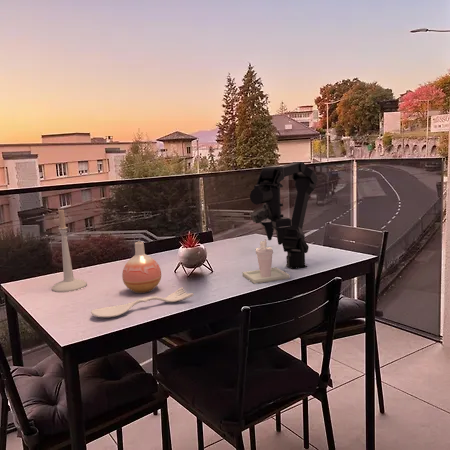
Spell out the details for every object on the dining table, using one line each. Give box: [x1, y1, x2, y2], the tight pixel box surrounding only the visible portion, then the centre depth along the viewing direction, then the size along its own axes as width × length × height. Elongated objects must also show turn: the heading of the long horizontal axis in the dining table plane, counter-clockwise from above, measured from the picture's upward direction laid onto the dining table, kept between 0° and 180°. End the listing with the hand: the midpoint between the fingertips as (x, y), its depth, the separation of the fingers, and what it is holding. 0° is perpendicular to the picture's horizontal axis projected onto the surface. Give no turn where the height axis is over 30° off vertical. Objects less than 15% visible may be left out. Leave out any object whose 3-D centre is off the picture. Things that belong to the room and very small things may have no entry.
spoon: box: [90, 287, 195, 319], centre depth 147 cm, size 9×32×4 cm, turn 119°
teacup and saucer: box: [255, 240, 273, 251], centre depth 222 cm, size 9×8×4 cm
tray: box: [241, 267, 291, 285], centre depth 174 cm, size 14×12×2 cm
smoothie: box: [255, 238, 274, 277], centre depth 173 cm, size 6×6×14 cm
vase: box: [121, 241, 162, 294], centre depth 164 cm, size 14×14×18 cm
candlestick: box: [51, 209, 88, 293], centre depth 174 cm, size 13×13×30 cm
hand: (274, 242), depth 173 cm, fingers open, 9 cm apart
